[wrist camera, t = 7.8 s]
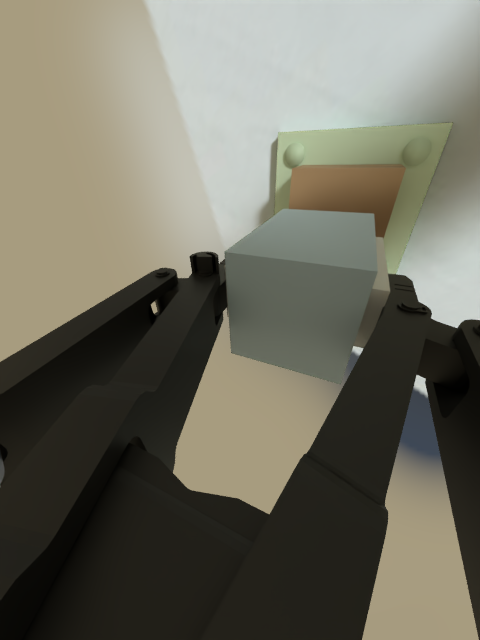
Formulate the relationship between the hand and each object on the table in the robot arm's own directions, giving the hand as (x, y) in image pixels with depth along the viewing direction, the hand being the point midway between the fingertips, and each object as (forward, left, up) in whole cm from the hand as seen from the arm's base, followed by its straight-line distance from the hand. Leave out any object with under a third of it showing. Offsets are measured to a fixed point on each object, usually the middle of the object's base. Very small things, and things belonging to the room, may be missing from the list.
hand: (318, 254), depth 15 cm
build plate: (0, 0, -12) cm, 12 cm away
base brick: (0, 0, -11) cm, 11 cm away
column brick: (0, 0, 0) cm, 0 cm away
